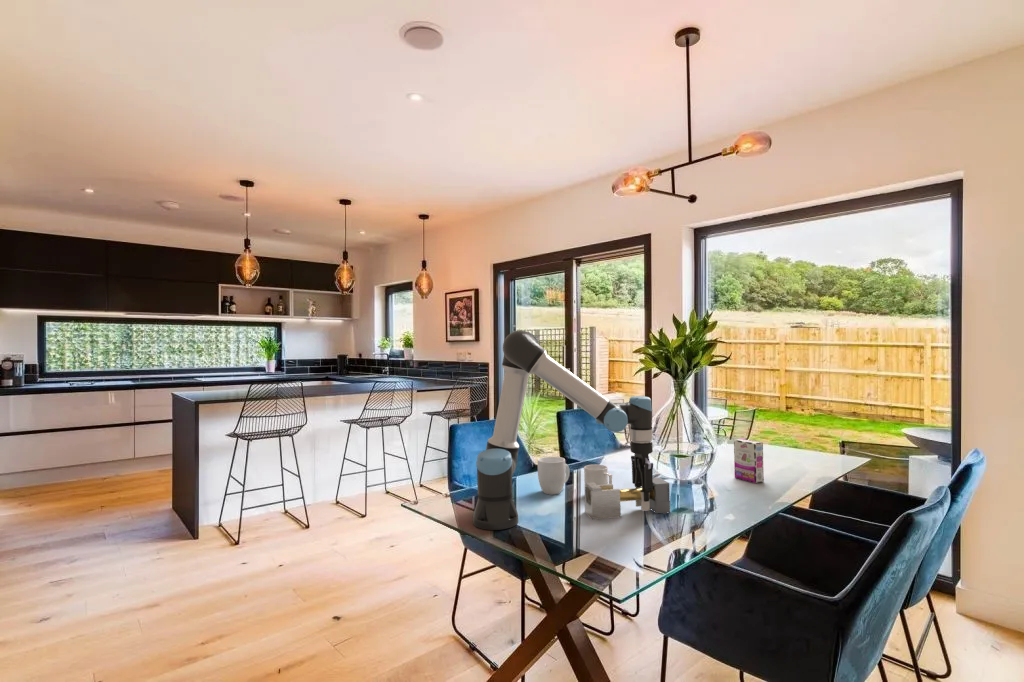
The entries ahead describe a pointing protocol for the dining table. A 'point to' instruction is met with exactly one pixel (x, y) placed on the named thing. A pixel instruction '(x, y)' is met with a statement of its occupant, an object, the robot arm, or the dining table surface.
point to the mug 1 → (552, 474)
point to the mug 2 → (597, 474)
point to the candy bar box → (748, 460)
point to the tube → (633, 494)
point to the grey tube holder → (602, 501)
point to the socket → (660, 496)
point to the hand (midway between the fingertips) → (642, 507)
